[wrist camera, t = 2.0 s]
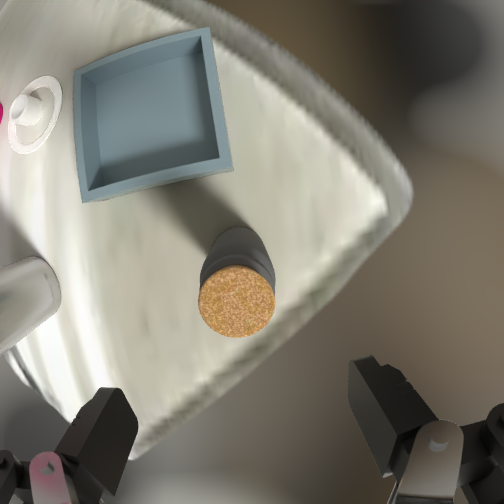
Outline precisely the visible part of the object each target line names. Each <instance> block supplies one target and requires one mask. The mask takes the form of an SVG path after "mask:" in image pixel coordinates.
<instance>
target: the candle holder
mask: <svg viewBox="0 0 504 504" xmlns="http://www.w3.org/2000/svg"><path fill="white" fill-rule="evenodd" d="M40 87H47V88H49V89H50V90H51V91H52V92H53V94H54V99H55V106H54V112H53V115H52V118H51V121H50V123H49V125H48V127H47V128H46V130H45V131H44V133H43V134H42V135H41V136H40V137H39V138H38V139H37V140H35V141H34V142H32V143H27V144H26V143H22V142H21V141H20V140H19V139H18V137H17V135H16V129H15V125H16V124H21V125H25V126H33V125H34V124H36V123H37V122H38V120H39V119H40V117H41V115H42V112H43V103H42V101H41V100H40V99H37V98H35V97H32V96H29V94H30V93H31V92H33V91H34V90H36V89H38V88H40ZM61 103H62V90H61V86H60V83H59V82H58V80H57V79H56V78H54V77H52V76H41V77H39V78H37V79H35V80H33V81H32V82H30V83H29V84H28V85H27V86H26V87H25V88H24V89H23V90H22V92H21V93H20V94H19V96H17V97H16V98H15V100H14V101H13V103H12V105H11V107H10V110H9V120H8V127H7V134H8V140H9V143H10V146H11V147H12V149H13V150H14V151H15V152H17V153H20V154H27V153H30V152H33V151H35V150H36V149H37V148H38V147H39V146H40V145H42V144H43V143H44V142H45V140H46V139H47V137H48V136H49V134H50V133H51V131H52V129H53V127H54V125H55V123H56V121H57V118H58V115H59V112H60V108H61Z"/></svg>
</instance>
